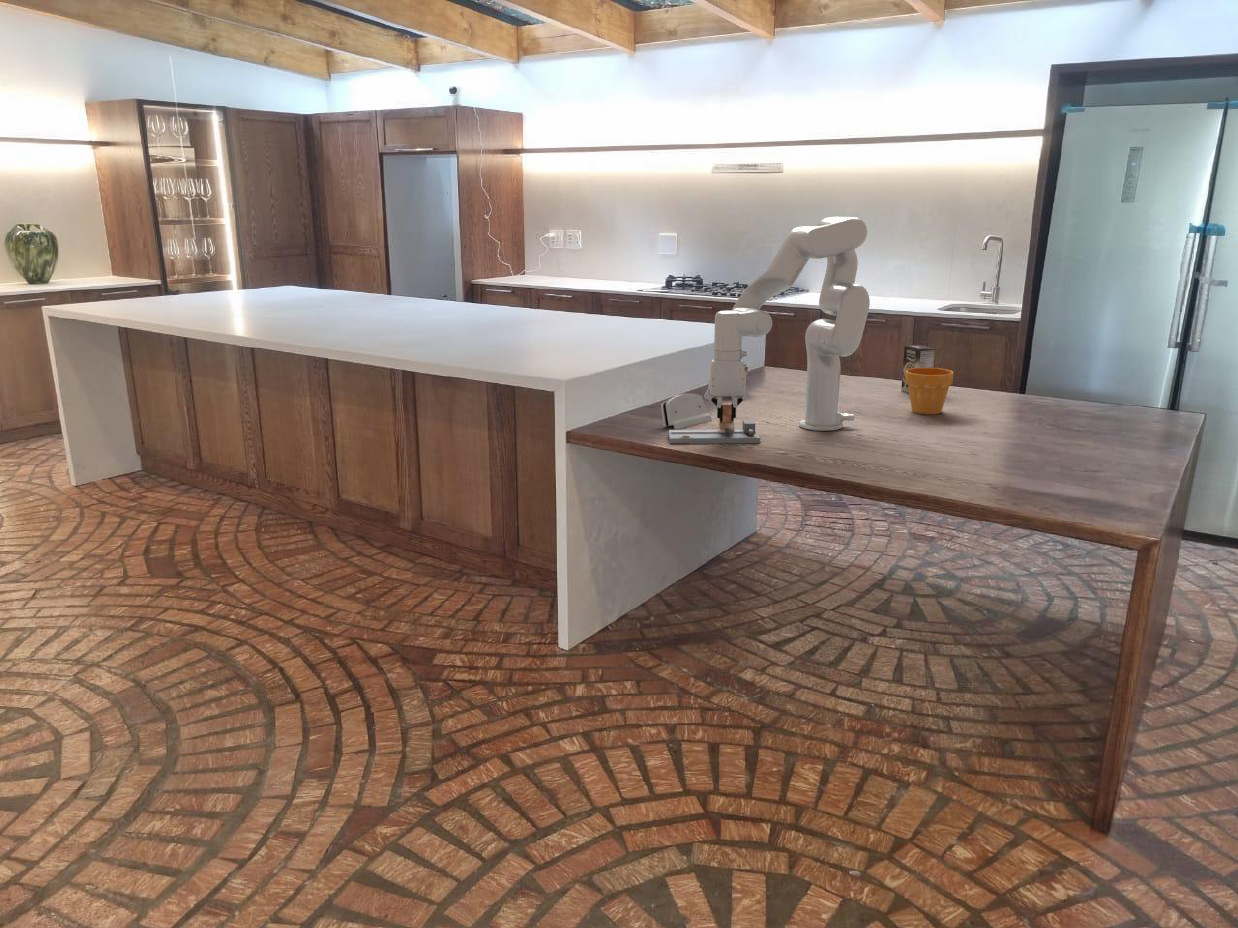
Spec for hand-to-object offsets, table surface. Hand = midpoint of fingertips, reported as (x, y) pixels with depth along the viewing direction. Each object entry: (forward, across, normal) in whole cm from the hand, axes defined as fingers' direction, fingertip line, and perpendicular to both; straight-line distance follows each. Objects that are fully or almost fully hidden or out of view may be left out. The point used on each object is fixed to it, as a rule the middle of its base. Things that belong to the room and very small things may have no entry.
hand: (726, 420), depth 252 cm
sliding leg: (+3, 0, +2) cm, 4 cm away
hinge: (+6, +11, -19) cm, 23 cm away
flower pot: (+5, -66, -32) cm, 74 cm away
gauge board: (+5, +4, +1) cm, 6 cm away
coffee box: (+5, -72, -63) cm, 96 cm away
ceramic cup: (+5, -7, -65) cm, 66 cm away
